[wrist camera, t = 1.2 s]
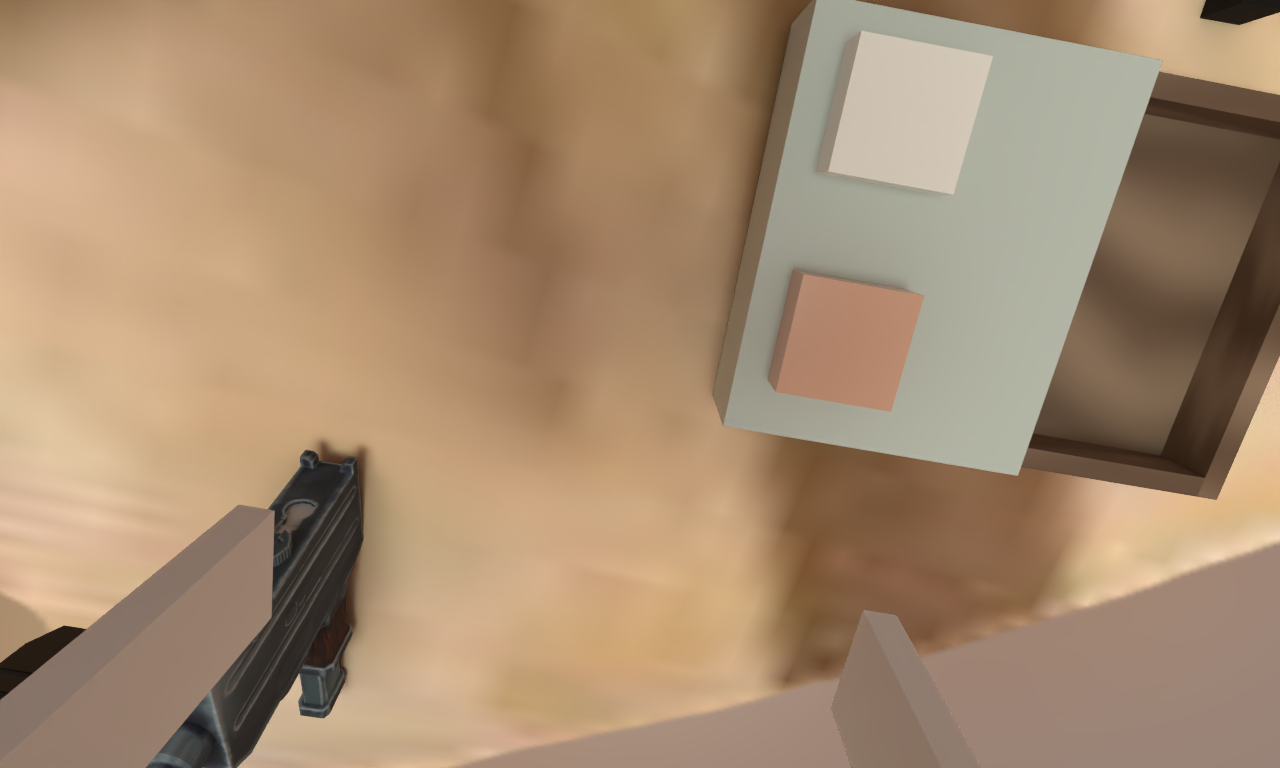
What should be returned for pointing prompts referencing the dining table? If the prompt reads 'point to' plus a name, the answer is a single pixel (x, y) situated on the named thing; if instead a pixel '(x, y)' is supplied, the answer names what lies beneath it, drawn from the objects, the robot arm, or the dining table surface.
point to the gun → (286, 622)
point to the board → (938, 238)
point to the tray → (1175, 300)
